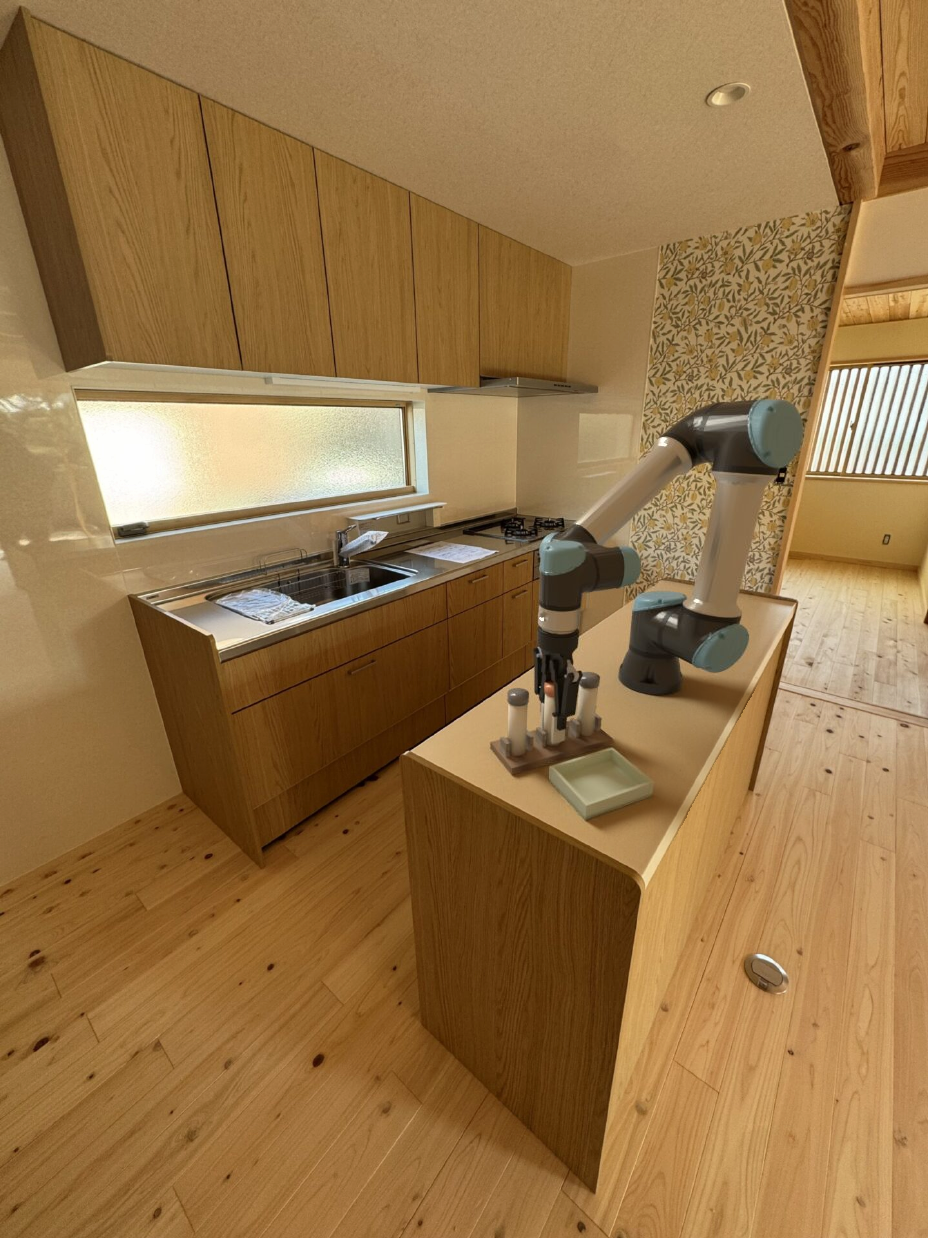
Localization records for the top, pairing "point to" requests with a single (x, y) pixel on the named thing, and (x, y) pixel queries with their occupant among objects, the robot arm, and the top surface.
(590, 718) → the fuse
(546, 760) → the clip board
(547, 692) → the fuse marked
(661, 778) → the top surface
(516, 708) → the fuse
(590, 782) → the tray
